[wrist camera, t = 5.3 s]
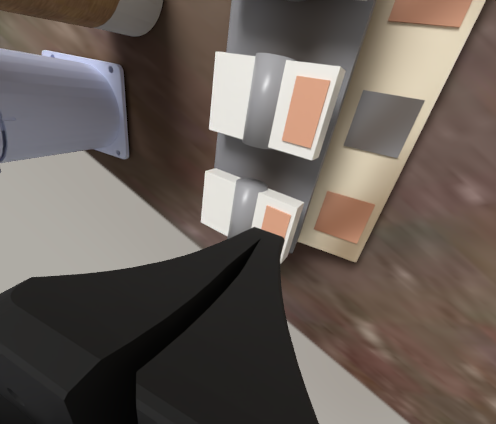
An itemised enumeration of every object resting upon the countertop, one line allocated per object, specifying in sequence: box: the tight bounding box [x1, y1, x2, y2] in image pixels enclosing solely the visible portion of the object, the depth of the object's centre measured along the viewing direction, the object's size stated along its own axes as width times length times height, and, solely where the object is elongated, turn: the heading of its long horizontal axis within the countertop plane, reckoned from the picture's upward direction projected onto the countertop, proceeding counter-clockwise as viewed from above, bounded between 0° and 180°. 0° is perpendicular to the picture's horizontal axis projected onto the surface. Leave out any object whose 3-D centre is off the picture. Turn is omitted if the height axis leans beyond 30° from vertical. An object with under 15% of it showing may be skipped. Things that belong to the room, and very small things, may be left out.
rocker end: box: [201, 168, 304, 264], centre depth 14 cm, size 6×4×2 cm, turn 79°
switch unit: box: [214, 0, 486, 262], centre depth 14 cm, size 12×18×4 cm, turn 169°
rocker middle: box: [209, 52, 346, 160], centre depth 11 cm, size 6×4×2 cm, turn 79°
